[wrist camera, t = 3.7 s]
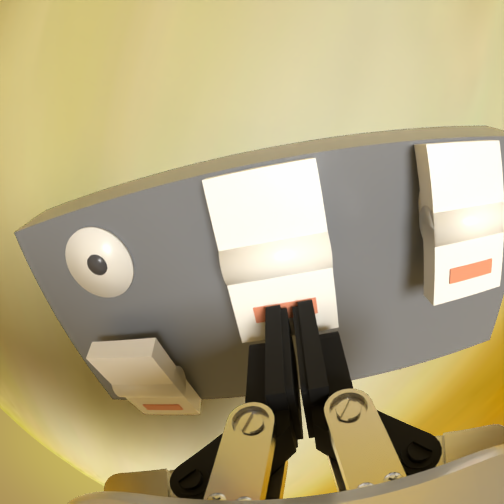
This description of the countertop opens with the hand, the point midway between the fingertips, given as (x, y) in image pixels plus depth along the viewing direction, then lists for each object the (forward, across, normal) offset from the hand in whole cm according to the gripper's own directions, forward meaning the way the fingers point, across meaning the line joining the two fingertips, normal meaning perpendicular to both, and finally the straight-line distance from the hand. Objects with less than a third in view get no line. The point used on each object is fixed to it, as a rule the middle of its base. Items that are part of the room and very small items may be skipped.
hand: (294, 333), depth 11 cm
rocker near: (+1, -7, -3) cm, 8 cm away
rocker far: (+1, +8, +3) cm, 8 cm away
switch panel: (+5, 0, 0) cm, 5 cm away
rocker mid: (+1, 0, -3) cm, 3 cm away
